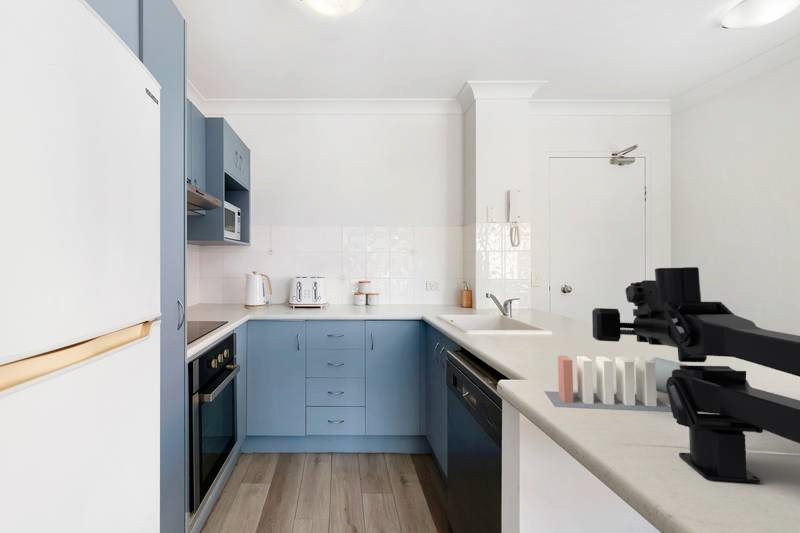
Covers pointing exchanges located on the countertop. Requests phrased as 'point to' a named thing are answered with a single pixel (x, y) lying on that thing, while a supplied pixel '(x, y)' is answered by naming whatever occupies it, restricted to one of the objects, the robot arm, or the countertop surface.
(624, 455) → the countertop surface
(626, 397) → the domino
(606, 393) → the domino
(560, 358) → the domino
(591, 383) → the domino
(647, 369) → the domino
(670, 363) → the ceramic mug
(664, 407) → the slate mat
